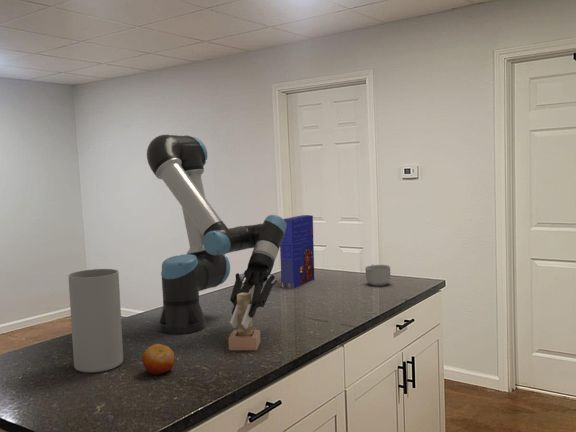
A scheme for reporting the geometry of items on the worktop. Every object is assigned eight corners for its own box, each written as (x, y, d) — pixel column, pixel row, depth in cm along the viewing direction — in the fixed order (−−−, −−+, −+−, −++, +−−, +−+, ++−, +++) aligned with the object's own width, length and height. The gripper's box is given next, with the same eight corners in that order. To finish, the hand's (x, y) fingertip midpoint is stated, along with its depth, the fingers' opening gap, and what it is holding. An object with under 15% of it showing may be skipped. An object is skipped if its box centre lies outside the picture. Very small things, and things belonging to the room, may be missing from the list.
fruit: (159, 357, 147) (167, 335, 143) (174, 378, 142) (182, 356, 139) (132, 365, 141) (139, 343, 138) (146, 387, 137) (154, 365, 133)
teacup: (392, 286, 233) (392, 268, 232) (367, 287, 233) (366, 269, 232) (387, 280, 247) (386, 262, 246) (363, 281, 247) (362, 263, 246)
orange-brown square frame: (228, 350, 156) (228, 337, 155) (234, 341, 164) (233, 329, 163) (256, 350, 155) (256, 337, 155) (260, 341, 163) (260, 329, 163)
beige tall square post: (238, 335, 158) (236, 294, 157) (243, 332, 161) (241, 292, 160) (247, 336, 157) (245, 295, 156) (252, 333, 159) (250, 293, 159)
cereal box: (302, 278, 257) (301, 214, 254) (314, 279, 254) (312, 215, 252) (281, 287, 237) (279, 219, 235) (293, 288, 235) (291, 219, 232)
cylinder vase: (75, 376, 138) (69, 279, 136) (73, 361, 150) (67, 271, 148) (126, 368, 143) (121, 274, 141) (120, 354, 155) (115, 267, 153)
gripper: (290, 266, 168) (268, 334, 154) (244, 264, 175) (219, 330, 161) (282, 252, 163) (258, 321, 149) (235, 250, 169) (208, 316, 156)
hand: (238, 325), depth 155 cm, fingers closed on beige tall square post, 3 cm apart
